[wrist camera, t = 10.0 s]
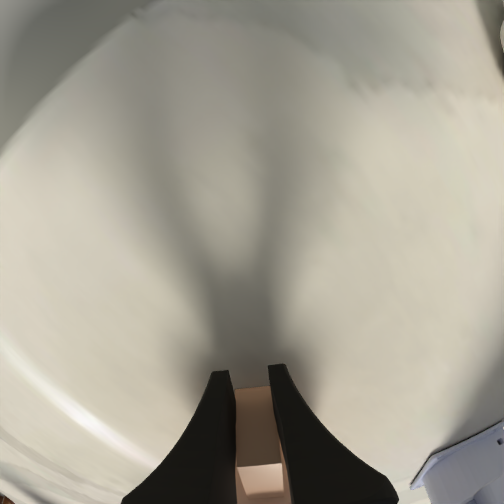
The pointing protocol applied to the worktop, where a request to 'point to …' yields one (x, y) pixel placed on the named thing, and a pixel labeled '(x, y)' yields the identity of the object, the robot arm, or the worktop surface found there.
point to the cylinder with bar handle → (259, 450)
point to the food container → (5, 500)
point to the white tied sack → (502, 33)
